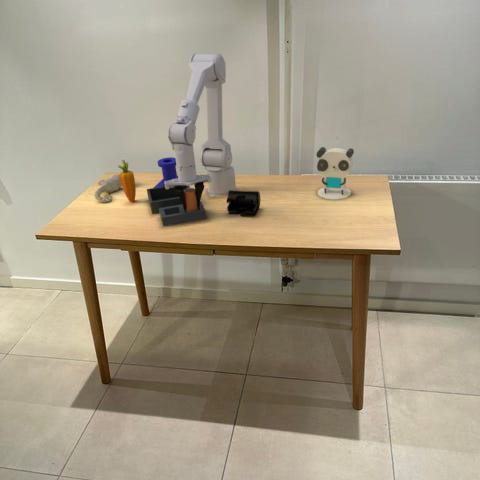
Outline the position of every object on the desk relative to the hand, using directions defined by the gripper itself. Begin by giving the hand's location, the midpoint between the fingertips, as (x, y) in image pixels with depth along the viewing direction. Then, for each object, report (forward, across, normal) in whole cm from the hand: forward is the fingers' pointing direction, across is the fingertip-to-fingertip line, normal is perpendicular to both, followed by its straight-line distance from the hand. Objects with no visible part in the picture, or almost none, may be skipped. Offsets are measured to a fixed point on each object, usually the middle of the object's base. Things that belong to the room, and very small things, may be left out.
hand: (191, 206), depth 151 cm
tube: (+2, 0, 0) cm, 2 cm away
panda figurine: (+4, +50, +1) cm, 50 cm away
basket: (+4, -5, +13) cm, 15 cm away
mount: (+4, -2, +33) cm, 33 cm away
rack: (+4, -3, 0) cm, 5 cm away
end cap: (+4, +17, -2) cm, 17 cm away
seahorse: (+4, -24, +33) cm, 40 cm away
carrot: (+4, -18, +20) cm, 27 cm away
